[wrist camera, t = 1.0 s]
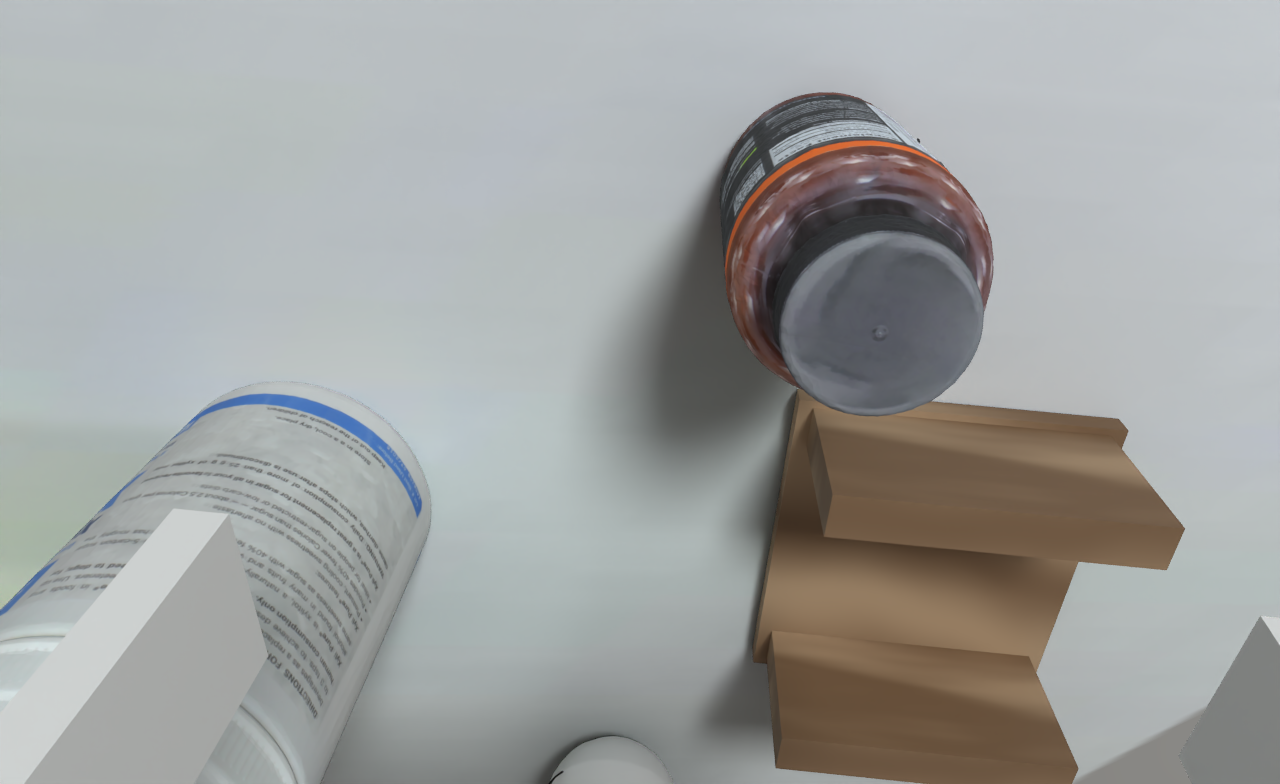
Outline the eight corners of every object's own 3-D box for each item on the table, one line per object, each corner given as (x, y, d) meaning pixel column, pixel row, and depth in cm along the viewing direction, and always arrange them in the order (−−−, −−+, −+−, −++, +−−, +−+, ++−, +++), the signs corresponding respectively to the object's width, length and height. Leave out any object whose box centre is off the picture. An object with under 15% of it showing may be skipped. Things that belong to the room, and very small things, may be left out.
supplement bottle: (896, 283, 29) (1000, 475, 19) (712, 273, 29) (716, 456, 19) (931, 90, 26) (1074, 194, 16) (727, 81, 26) (741, 176, 16)
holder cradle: (1022, 675, 36) (1077, 804, 31) (752, 647, 36) (760, 771, 31) (1118, 419, 30) (1206, 523, 25) (797, 389, 31) (816, 485, 25)
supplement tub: (168, 362, 32) (-204, 663, 19) (429, 379, 31) (233, 698, 18) (218, 574, 36) (-54, 936, 23) (447, 592, 36) (300, 968, 23)
